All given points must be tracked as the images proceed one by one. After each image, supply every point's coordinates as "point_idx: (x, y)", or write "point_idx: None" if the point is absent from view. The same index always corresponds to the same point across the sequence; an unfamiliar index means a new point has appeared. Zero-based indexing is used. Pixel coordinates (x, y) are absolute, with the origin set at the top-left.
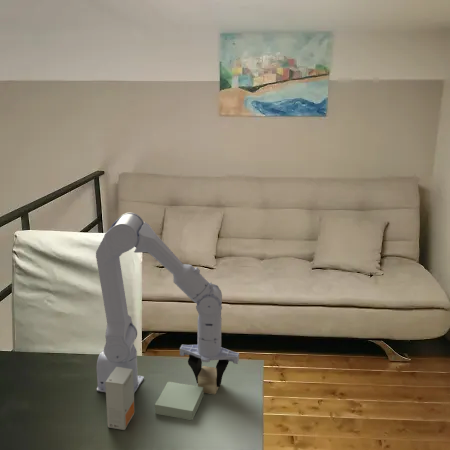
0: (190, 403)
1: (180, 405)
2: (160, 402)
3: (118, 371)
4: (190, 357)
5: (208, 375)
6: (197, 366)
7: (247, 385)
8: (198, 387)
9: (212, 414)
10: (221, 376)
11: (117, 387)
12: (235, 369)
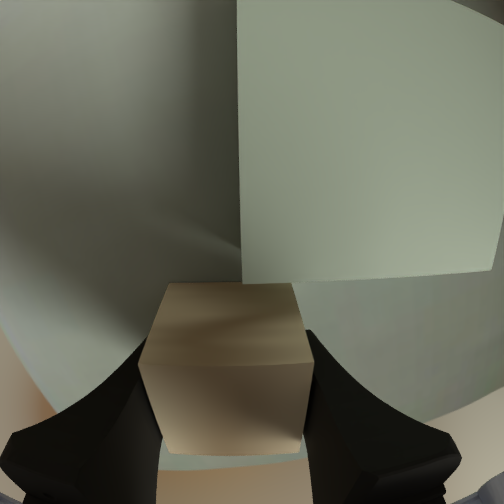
0: (287, 38)
1: (361, 3)
2: (491, 41)
3: None
4: (431, 499)
5: (218, 390)
6: (341, 448)
7: (64, 375)
8: (282, 270)
9: (122, 88)
10: (95, 389)
11: None
12: (162, 448)
